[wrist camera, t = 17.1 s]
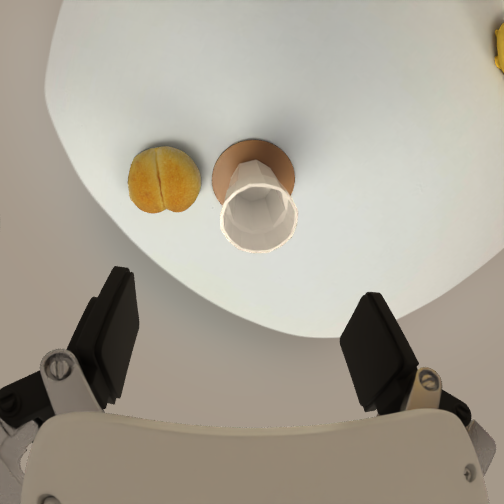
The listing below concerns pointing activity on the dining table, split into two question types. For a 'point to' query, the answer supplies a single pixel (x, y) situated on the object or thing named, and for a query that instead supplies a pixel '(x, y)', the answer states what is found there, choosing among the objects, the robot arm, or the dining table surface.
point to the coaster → (250, 152)
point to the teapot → (500, 47)
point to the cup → (257, 209)
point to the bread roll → (163, 180)
